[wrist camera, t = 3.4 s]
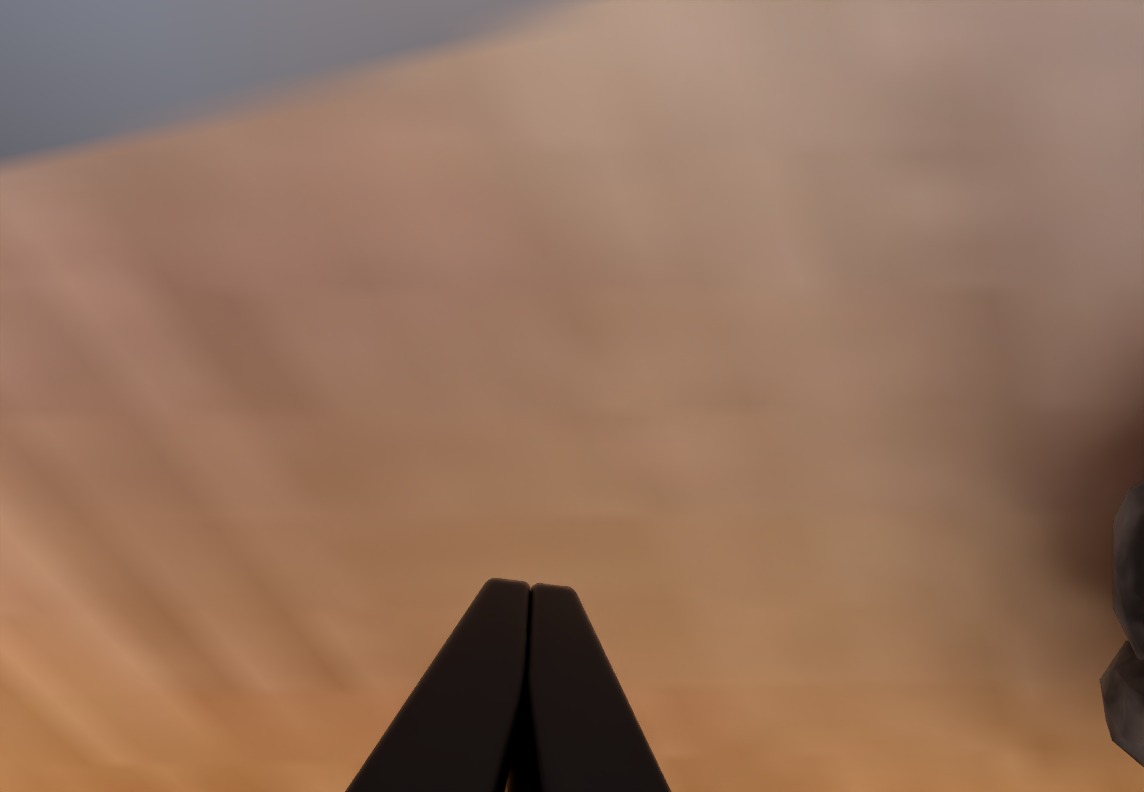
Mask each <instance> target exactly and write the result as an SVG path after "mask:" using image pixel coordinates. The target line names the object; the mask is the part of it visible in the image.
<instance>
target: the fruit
mask: <svg viewBox="0 0 1144 792" xmlns="http://www.w3.org/2000/svg"><path fill="white" fill-rule="evenodd" d="M1113 609H1114V611H1115V613H1116V615H1117V617H1118V619H1119V621H1120V624H1121V626H1122V628H1123V630H1124V632H1125V634H1126V636H1127V638H1128V641H1125V643H1124V644H1123V646H1122V647H1121V649H1120V650H1119V652H1118V653H1117V655H1116V656H1115V658H1114V659H1113V661H1112V662H1111V664H1110V665H1109V667H1108V668H1107V670H1106V671H1105V673H1104V674H1103V676H1102V677H1101V679H1100V684H1101V690H1102V697H1103V704H1104V710H1105V717H1106V722H1107V725H1108V728H1109V732H1110V735H1111V738H1112V741H1113V742H1115V743H1116V744H1117V745H1118V746H1119V747H1120V748H1122V749H1123V750H1124V751H1125V752H1126V753H1128V754H1129V755H1130V756H1131V757H1132V758H1133V759H1135V760H1136V761H1137V762H1138V763H1139V764H1141V765H1142V766H1143V767H1144V480H1143V481H1141V482H1140V483H1138V484H1136V485H1135V486H1133V487H1132V488H1130V489H1129V490H1128V492H1127V494H1126V496H1125V498H1124V500H1123V502H1122V504H1121V506H1120V508H1119V510H1118V512H1117V514H1116V516H1115V518H1114V532H1113Z"/></svg>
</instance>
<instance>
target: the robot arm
mask: <svg viewBox="0 0 1144 792" xmlns="http://www.w3.org/2000/svg"><path fill="white" fill-rule="evenodd" d="M505 791H506V792H671V790H670V788H669V786H668V784H667V782H666V780H665V778H664V775H663V773H662V771H661V769H660V767H659V765H658V763H657V761H656V759H655V757H654V755H653V752H652V750H651V748H650V746H649V744H648V742H647V740H646V738H645V736H644V734H643V731H642V729H641V727H640V725H639V723H638V721H637V719H636V717H635V715H634V713H633V710H632V708H631V706H630V704H629V702H628V700H627V698H626V696H625V694H624V692H623V690H622V687H621V685H620V683H619V681H618V679H617V677H616V675H615V673H614V671H613V669H612V666H611V664H610V662H609V660H608V658H607V656H606V654H605V652H604V650H603V648H602V645H601V643H600V641H599V639H598V637H597V635H596V633H595V631H594V629H593V627H592V625H591V622H590V620H589V618H588V616H587V614H586V612H585V610H584V608H583V606H582V604H581V601H580V599H579V597H578V595H577V594H576V592H575V591H574V590H573V589H572V588H571V587H568V586H559V585H551V584H543V583H537V584H534V585H533V586H532V588H531V591H530V586H529V584H528V583H527V582H524V581H518V580H509V579H501V578H491V579H489V580H488V581H487V582H486V583H485V584H484V586H483V587H482V588H481V590H480V591H479V593H478V594H477V596H476V597H475V599H474V600H473V602H472V603H471V605H470V606H469V608H468V609H467V611H466V612H465V614H464V615H463V617H462V618H461V620H460V621H459V623H458V624H457V626H456V627H455V629H454V630H453V632H452V633H451V635H450V636H449V638H448V639H447V641H446V642H445V644H444V645H443V647H442V648H441V650H440V651H439V653H438V654H437V656H436V657H435V659H434V660H433V662H432V663H431V664H430V666H429V667H428V669H427V670H426V672H425V673H424V675H423V676H422V678H421V679H420V681H419V682H418V684H417V685H416V687H415V688H414V690H413V691H412V693H411V694H410V696H409V697H408V699H407V700H406V702H405V703H404V705H403V706H402V708H401V709H400V711H399V712H398V714H397V715H396V717H395V718H394V720H393V721H392V723H391V724H390V726H389V727H388V729H387V730H386V732H385V733H384V735H383V736H382V738H381V739H380V741H379V742H378V743H377V745H376V746H375V748H374V749H373V751H372V752H371V754H370V755H369V757H368V758H367V760H366V761H365V763H364V764H363V766H362V767H361V769H360V770H359V772H358V773H357V775H356V776H355V778H354V779H353V781H352V782H351V784H350V785H349V787H348V788H347V790H346V791H345V792H505Z"/></svg>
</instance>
